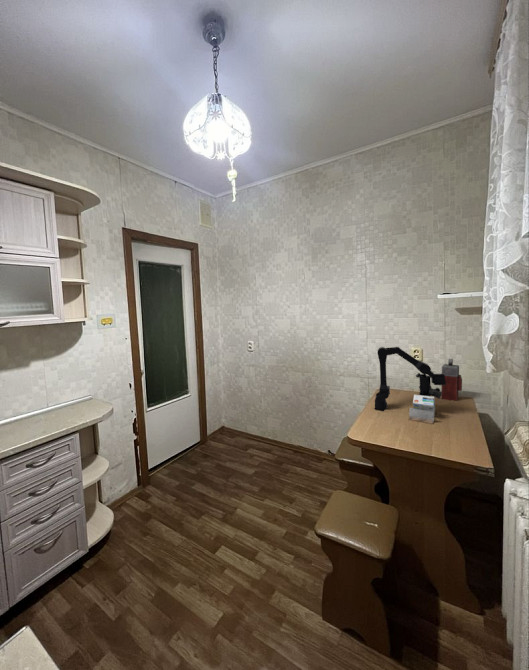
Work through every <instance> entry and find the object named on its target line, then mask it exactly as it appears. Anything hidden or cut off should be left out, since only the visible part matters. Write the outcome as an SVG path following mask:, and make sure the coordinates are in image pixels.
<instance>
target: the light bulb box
mask: <svg viewBox="0 0 529 670" xmlns="http://www.w3.org/2000/svg"><path fill="white" fill-rule="evenodd" d="M427 398H428V399H427ZM412 408H415V409H421V410H428V411H434V415H435V414H436V401H435V397H434V396H432V395H431V396H422V395H419V394H413V400H412Z"/></svg>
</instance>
